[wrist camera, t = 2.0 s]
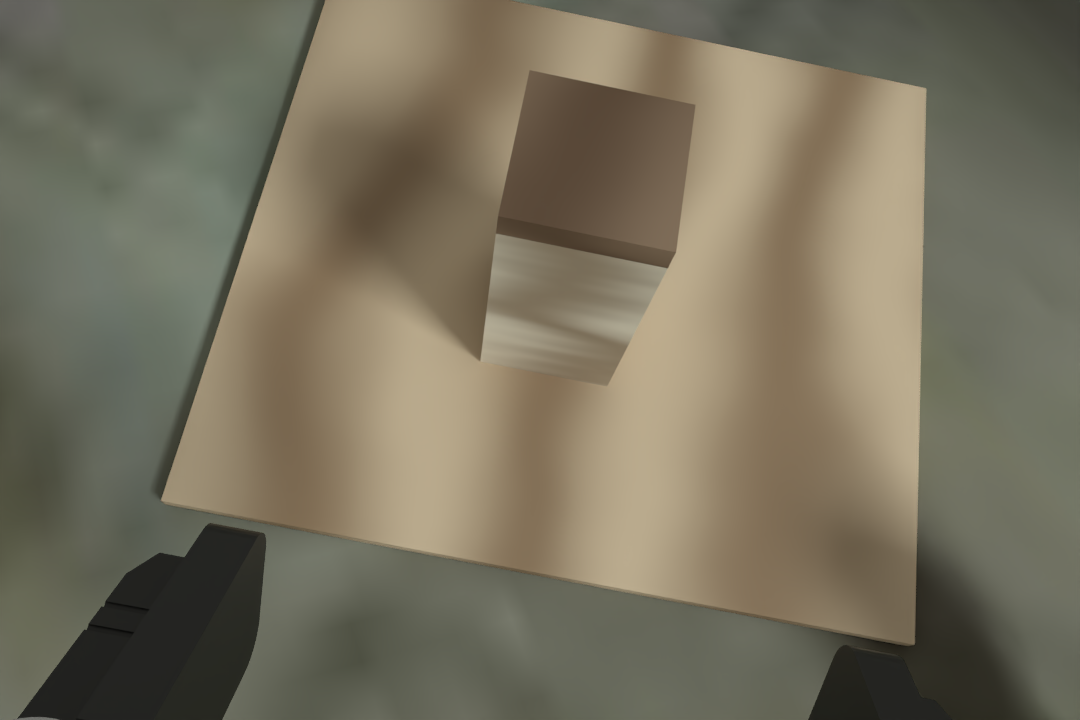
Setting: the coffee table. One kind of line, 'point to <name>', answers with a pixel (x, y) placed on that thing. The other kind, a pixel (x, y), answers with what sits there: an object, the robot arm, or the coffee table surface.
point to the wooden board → (649, 361)
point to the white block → (584, 225)
